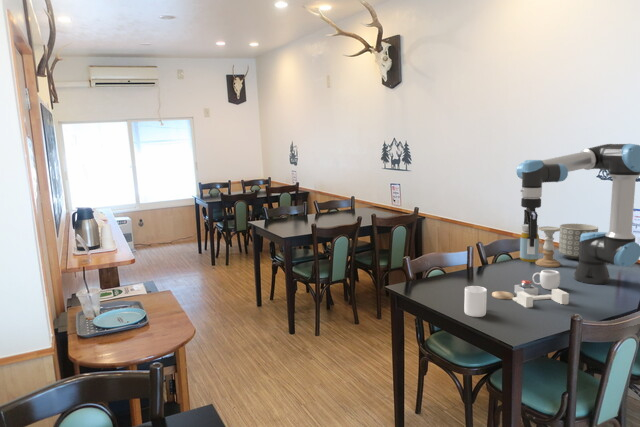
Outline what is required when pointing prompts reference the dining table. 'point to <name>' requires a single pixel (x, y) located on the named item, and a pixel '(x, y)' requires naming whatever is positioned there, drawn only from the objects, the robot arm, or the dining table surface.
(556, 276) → the mug
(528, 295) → the housing
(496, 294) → the pad
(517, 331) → the dining table surface
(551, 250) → the candle holder
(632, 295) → the dining table surface
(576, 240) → the planter
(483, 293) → the cup
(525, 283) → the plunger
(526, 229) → the bottle
